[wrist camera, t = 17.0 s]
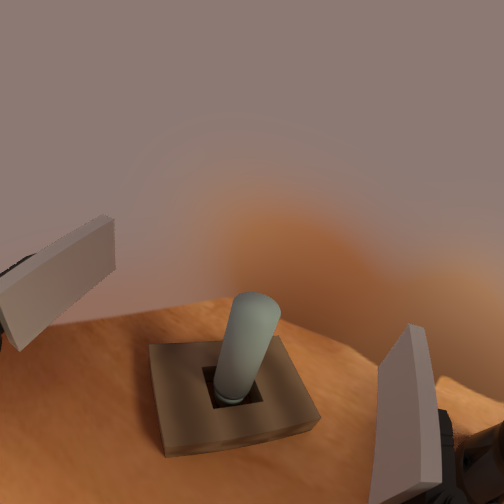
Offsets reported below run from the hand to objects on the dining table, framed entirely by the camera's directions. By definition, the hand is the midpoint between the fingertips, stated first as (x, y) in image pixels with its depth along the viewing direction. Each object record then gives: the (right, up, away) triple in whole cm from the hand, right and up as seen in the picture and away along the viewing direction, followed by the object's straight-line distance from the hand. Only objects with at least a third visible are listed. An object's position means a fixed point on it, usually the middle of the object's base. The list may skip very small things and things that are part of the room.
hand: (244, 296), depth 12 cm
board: (-3, -17, +23) cm, 28 cm away
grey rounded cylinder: (-3, -17, +23) cm, 28 cm away
